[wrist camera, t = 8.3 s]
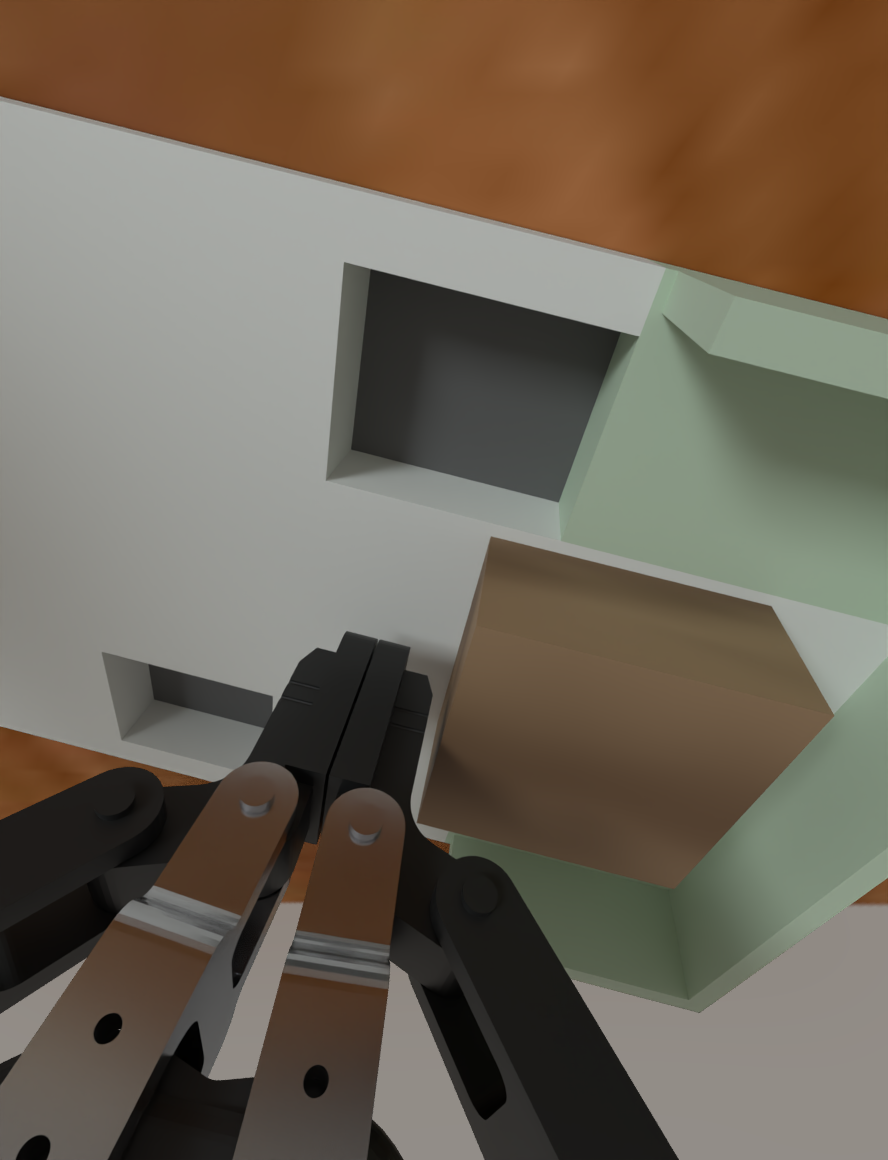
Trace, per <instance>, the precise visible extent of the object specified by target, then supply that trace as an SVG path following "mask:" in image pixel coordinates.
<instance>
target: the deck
mask: <svg viewBox="0 0 888 1160" xmlns="http://www.w3.org/2000/svg"><path fill="white" fill-rule="evenodd" d="M491 536H492V537H496V538H500V539H504V540H508V541H512V542H516V543H520V544H524V545H528V546H532V547H536V548H540V549H544V550H548V551H552V552H556V553H560V554H564V555H568V556H572V557H577V558H581V559H585V560H589V561H593V562H597V563H601V564H605V565H609V566H613V567H617V568H621V569H625V570H629V571H633V572H637V573H641V574H645V575H649V576H653V577H657V578H661V579H665V580H669V581H673V582H677V583H681V584H685V585H689V586H693V587H697V588H701V589H705V590H709V591H713V592H717V593H721V594H725V595H729V596H733V597H737V598H741V599H745V600H749V601H753V602H757V603H761V604H765V605H769V606H772V608H773V610H774V611H775V613H776V615H777V617H778V618H779V620H780V622H781V624H782V625H783V627H784V629H785V631H786V632H787V634H788V636H789V637H790V639H791V641H792V643H793V644H794V646H795V648H796V650H797V651H798V653H799V655H800V657H801V658H802V660H803V662H804V663H805V665H806V667H807V669H808V670H809V672H810V674H811V676H812V677H813V679H814V681H815V683H816V684H817V686H818V688H819V690H820V691H821V693H822V695H823V696H824V698H825V700H826V702H827V703H828V705H829V707H830V709H831V710H832V712H833V714H834V717H833V718H832V719H831V720H830V721H829V722H828V723H827V725H826V726H825V727H824V728H823V729H822V730H821V731H820V732H819V733H818V734H817V735H816V736H815V738H814V739H813V740H812V741H811V742H810V743H809V744H808V745H807V746H806V747H805V748H804V749H803V750H802V752H801V753H800V754H799V755H798V756H797V757H796V758H795V759H794V760H793V761H792V762H791V763H790V765H789V766H788V767H787V768H786V769H785V770H784V771H783V772H782V773H781V774H780V775H779V776H778V778H777V779H776V780H775V781H774V782H773V783H772V784H771V785H770V786H769V787H768V788H767V789H766V790H765V792H764V793H763V794H762V795H761V796H760V797H759V798H758V799H757V800H756V801H755V802H754V803H753V805H752V806H751V807H750V808H749V809H748V810H747V811H746V812H745V813H744V814H743V815H742V816H741V817H740V819H739V820H738V821H737V822H736V823H735V824H734V825H733V826H732V827H731V828H730V829H729V830H728V832H727V833H726V834H725V835H724V836H723V837H722V838H721V839H720V840H719V841H718V842H717V843H716V845H715V846H714V847H713V848H712V849H711V850H710V851H709V852H708V853H707V854H706V855H705V856H704V857H703V859H702V860H701V861H700V862H699V863H698V864H697V865H696V866H695V867H694V868H693V869H692V870H691V872H690V873H689V874H688V875H687V876H686V877H685V878H684V879H683V880H682V881H681V882H680V883H679V884H678V886H677V887H676V888H675V889H671V888H667V887H664V886H660V885H656V884H652V883H648V882H644V881H640V880H636V879H632V878H629V877H625V876H621V875H617V874H613V873H609V872H605V871H601V870H598V869H594V868H590V867H586V866H582V865H578V864H574V863H570V862H566V861H563V860H559V859H555V858H551V857H547V856H543V855H539V854H535V853H531V852H528V851H524V850H520V849H516V848H512V847H508V846H504V845H500V844H496V843H493V842H489V841H485V840H481V839H477V838H473V837H469V836H465V835H462V834H458V833H454V832H450V831H446V830H442V829H438V828H434V827H430V826H427V825H423V824H419V823H417V818H418V814H419V809H420V804H421V799H422V794H423V790H424V785H425V780H426V775H427V770H428V766H429V761H430V756H431V751H432V747H433V742H434V737H435V732H436V727H437V723H438V719H439V715H440V712H441V708H442V705H443V701H444V698H445V694H446V691H447V687H448V684H449V680H450V677H451V673H452V670H453V666H454V663H455V659H456V656H457V652H458V649H459V645H460V642H461V638H462V635H463V632H464V628H465V625H466V621H467V618H468V614H469V611H470V607H471V604H472V600H473V597H474V593H475V590H476V586H477V583H478V579H479V576H480V572H481V569H482V565H483V562H484V558H485V555H486V551H487V548H488V544H489V541H490V537H491ZM346 631H349V632H353V633H357V634H361V635H365V636H369V637H373V638H377V639H378V642H379V640H380V639H381V640H385V641H389V642H393V643H397V644H401V645H405V646H409V647H411V649H410V653H409V658H408V662H407V666H406V670H408V671H412V672H415V673H419V674H423V675H427V676H428V679H429V683H430V686H431V690H432V694H433V697H432V702H431V706H430V711H429V716H428V720H427V725H426V730H425V734H424V739H423V744H422V748H421V753H420V758H419V762H418V767H417V772H416V776H415V781H414V785H413V790H412V795H411V812H412V816H413V819H414V822H415V824H416V825H417V827H418V829H419V830H420V832H421V833H422V834H423V835H424V836H425V837H426V838H429V839H433V840H437V841H441V842H445V843H448V844H450V849H449V855H451V856H452V857H454V858H455V859H458V858H461V857H465V856H479V857H483V858H486V859H489V860H491V861H492V862H494V863H496V864H497V865H498V866H500V867H501V868H502V869H503V870H504V871H505V872H506V873H507V874H508V876H509V877H510V879H511V880H512V882H513V883H514V885H515V887H516V888H517V890H518V892H519V893H520V895H521V897H522V898H523V900H524V902H525V903H526V905H527V907H528V909H529V910H530V912H531V914H532V915H533V917H534V919H535V920H536V922H537V924H538V925H539V927H540V929H541V930H542V932H543V934H544V935H545V937H546V939H547V940H548V942H549V944H550V945H551V947H552V949H553V950H554V952H555V954H556V955H557V957H558V959H559V960H560V962H561V964H562V965H563V967H564V969H565V970H566V972H567V974H568V975H569V977H570V979H573V980H577V981H580V982H584V983H588V984H592V985H596V986H600V987H604V988H607V989H611V990H615V991H618V992H622V993H626V994H630V995H634V996H638V997H641V998H645V999H649V1000H653V1001H656V1002H660V1003H664V1004H668V1005H671V1006H675V1007H679V1008H683V1009H687V1010H690V1011H694V1012H698V1013H700V1012H701V1011H703V1010H704V1009H706V1008H707V1007H708V1006H710V1005H711V1004H713V1003H714V1002H716V1001H717V1000H718V999H719V998H721V997H722V996H724V995H725V994H727V993H728V992H729V991H731V990H732V989H734V988H735V987H736V986H738V985H739V984H741V983H742V982H743V981H745V980H746V979H748V978H749V977H750V976H752V975H753V974H754V973H756V972H757V971H759V970H760V969H761V968H763V967H764V966H766V965H767V964H768V963H770V962H771V961H772V960H774V959H775V958H777V957H778V956H779V955H781V954H782V953H784V952H785V951H786V950H788V949H789V948H791V947H792V946H793V945H795V944H796V943H797V942H799V941H800V940H802V939H803V938H805V937H806V936H807V935H809V934H810V933H811V932H813V931H814V930H815V929H817V928H818V927H820V926H821V925H823V924H824V923H825V922H827V921H828V920H829V919H831V918H832V917H834V916H835V915H836V914H838V913H839V912H841V911H842V910H844V909H845V908H846V907H848V906H849V905H850V904H852V903H853V902H855V901H856V900H857V899H859V898H860V897H862V896H863V895H864V894H866V893H867V892H869V891H870V890H871V889H873V888H874V887H875V886H877V885H878V884H880V883H881V882H882V881H884V880H885V879H887V878H888V319H885V318H881V317H877V316H873V315H869V314H865V313H861V312H857V311H853V310H849V309H845V308H841V307H837V306H833V305H829V304H825V303H821V302H817V301H813V300H809V299H805V298H801V297H797V296H793V295H789V294H785V293H781V292H777V291H773V290H769V289H765V288H761V287H757V286H753V285H749V284H745V283H741V282H737V281H733V280H729V279H725V278H721V277H717V276H713V275H709V274H705V273H701V272H697V271H693V270H689V269H685V268H681V267H677V266H673V265H669V264H665V263H661V262H657V261H653V260H649V259H646V258H642V257H638V256H634V255H630V254H626V253H622V252H618V251H614V250H610V249H606V248H602V247H598V246H594V245H590V244H586V243H582V242H578V241H574V240H570V239H566V238H562V237H558V236H554V235H550V234H546V233H542V232H538V231H534V230H530V229H526V228H522V227H518V226H514V225H510V224H506V223H502V222H498V221H494V220H490V219H486V218H482V217H478V216H474V215H470V214H466V213H462V212H458V211H454V210H450V209H446V208H442V207H438V206H434V205H430V204H426V203H422V202H418V201H414V200H410V199H406V198H402V197H398V196H395V195H391V194H387V193H383V192H379V191H375V190H371V189H367V188H363V187H359V186H355V185H351V184H347V183H343V182H339V181H335V180H331V179H327V178H323V177H319V176H315V175H311V174H307V173H303V172H299V171H295V170H291V169H287V168H283V167H279V166H275V165H271V164H267V163H263V162H259V161H255V160H251V159H247V158H243V157H239V156H235V155H231V154H227V153H223V152H219V151H215V150H211V149H207V148H203V147H199V146H195V145H191V144H187V143H183V142H179V141H175V140H171V139H167V138H163V137H159V136H155V135H151V134H147V133H144V132H140V131H136V130H132V129H128V128H124V127H120V126H116V125H112V124H108V123H104V122H100V121H96V120H92V119H88V118H84V117H80V116H76V115H72V114H68V113H64V112H60V111H56V110H52V109H48V108H44V107H40V106H36V105H32V104H28V103H24V102H20V101H16V100H12V99H8V98H4V97H0V726H1V727H5V728H9V729H13V730H17V731H20V732H24V733H28V734H32V735H36V736H40V737H43V738H47V739H51V740H55V741H59V742H63V743H66V744H70V745H74V746H78V747H82V748H85V749H89V750H93V751H97V752H101V753H105V754H108V755H112V756H116V757H120V758H124V759H127V760H131V761H135V762H139V763H143V764H147V765H150V766H154V767H158V768H162V769H166V770H169V771H173V772H177V773H181V774H185V775H189V776H192V777H196V778H200V779H204V780H208V781H212V782H215V781H218V780H221V779H223V778H225V777H226V776H227V775H228V774H229V773H230V772H232V771H233V770H235V769H236V768H238V767H240V766H242V765H243V764H244V763H245V761H246V760H247V759H248V757H249V756H250V754H251V752H252V750H253V748H254V746H255V744H256V743H257V741H258V739H259V737H260V735H261V733H262V731H263V729H264V727H265V726H266V724H267V722H268V720H269V718H270V716H271V714H272V712H273V710H274V708H275V707H276V705H277V703H278V701H279V699H281V696H282V693H283V691H284V689H285V688H286V686H287V684H288V683H289V681H290V678H291V676H292V674H293V672H294V671H295V669H296V667H297V665H298V663H299V661H300V660H302V659H303V658H304V657H305V656H307V655H308V654H309V653H311V652H312V651H313V650H314V649H316V648H321V649H325V650H329V651H333V652H336V651H337V649H338V647H339V644H340V642H341V640H342V638H343V636H344V634H345V632H346Z"/></svg>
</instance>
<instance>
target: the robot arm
mask: <svg viewBox="0 0 888 1160" xmlns="http://www.w3.org/2000/svg"><path fill="white" fill-rule="evenodd" d="M410 649H411V647H409V646H405V645H401V644H397V643H393V642H389V641H385V640H381V639H380V640H379V642H378V639H377V638H373V637H369V636H365V635H361V634H357V633H353V632H349V631H346V632H345V634H344V636H343V638H342V640H341V642H340V644H339V647H338V649H337V651H336V652H333V651H329V650H325V649H321V648H316V649H314V650H313V651H312V652H311V653H309V654H308V655H307V656H305V657H304V658H303V659H302V660H300V661H299V663H298V665H297V667H296V669H295V671H294V672H293V674H292V676H291V678H290V681H289V683H288V684H287V686H286V688H285V689H284V691H283V693H282V696H281V699H279V701H278V703H277V705H276V707H275V708H274V710H273V712H272V714H271V716H270V718H269V720H268V722H267V724H266V726H265V727H264V729H263V731H262V733H261V735H260V737H259V739H258V741H257V743H256V744H255V746H254V748H253V750H252V752H251V754H250V756H249V757H248V759H247V760H246V761H245V763H244V764H243V765H242V766H240V767H238V768H236V769H235V770H233V771H232V772H230V773H229V774H228V775H227V776H226V777H225V778H223V779H221V780H218V781H215V782H212V783H208V784H202V785H189V786H172V787H162V784H161V782H160V781H159V779H158V778H157V777H156V776H155V775H154V774H153V773H151V772H149V771H147V770H144V769H141V768H135V767H123V768H116V769H113V770H109V771H106V772H104V773H101V774H99V775H97V776H95V777H92V778H90V779H88V780H86V781H84V782H82V783H79V784H77V785H75V786H73V787H71V788H69V789H66V790H64V791H62V792H60V793H58V794H56V795H53V796H51V797H49V798H47V799H45V800H43V801H40V802H38V803H36V804H34V805H32V806H30V807H27V808H25V809H23V810H21V811H19V812H17V813H14V814H12V815H10V816H8V817H6V818H4V819H1V820H0V1014H1V1013H2V1012H4V1011H5V1010H7V1009H8V1008H10V1007H11V1006H13V1005H15V1004H16V1003H18V1002H19V1001H21V1000H22V999H24V998H25V997H27V996H28V995H30V994H31V993H33V992H34V991H36V990H38V989H39V988H40V987H42V986H44V985H45V984H47V983H48V982H50V981H52V980H53V979H55V978H56V977H58V976H59V975H61V974H62V973H64V972H65V971H67V970H69V969H70V968H72V967H73V966H75V965H76V964H78V963H79V962H81V961H82V960H84V959H85V958H87V959H86V960H85V962H84V963H83V965H82V966H81V968H80V969H79V970H78V972H77V974H76V975H75V976H74V978H73V979H72V981H71V982H70V984H69V985H68V987H67V988H66V990H65V991H64V993H63V994H62V996H61V997H60V998H59V1000H58V1001H57V1003H56V1004H55V1006H54V1007H53V1009H52V1010H51V1012H50V1013H49V1015H48V1016H47V1018H46V1019H45V1021H44V1022H43V1024H42V1025H41V1026H40V1028H39V1030H38V1031H37V1032H36V1034H35V1035H34V1037H33V1038H32V1040H31V1041H30V1043H29V1044H28V1046H27V1047H26V1049H25V1050H24V1052H23V1053H22V1054H20V1055H18V1056H16V1057H13V1058H11V1059H9V1060H7V1061H5V1062H3V1063H1V1064H0V1160H403V1158H402V1156H401V1155H400V1153H399V1151H398V1150H397V1148H396V1146H395V1145H394V1144H393V1143H392V1141H391V1140H390V1138H389V1137H388V1136H387V1135H386V1133H385V1132H384V1131H383V1129H381V1127H380V1126H378V1125H377V1124H376V1123H375V1122H374V1121H373V1120H372V1114H373V1107H374V1098H375V1091H376V1083H377V1076H378V1075H377V1074H378V1067H379V1060H380V1051H381V1044H382V1036H383V1028H384V1020H385V1012H386V1004H387V997H388V988H389V976H390V962H389V960H390V961H391V962H393V963H394V964H396V965H397V966H398V967H399V968H401V969H402V970H403V971H405V972H406V973H408V975H409V979H410V982H411V985H412V987H413V989H414V992H415V994H416V997H417V999H418V1002H419V1004H420V1006H421V1009H422V1011H423V1013H424V1016H425V1018H426V1021H427V1023H428V1025H429V1028H430V1030H431V1033H432V1035H433V1037H434V1040H435V1042H436V1045H437V1047H438V1049H439V1052H440V1054H441V1056H442V1059H443V1061H444V1064H445V1066H446V1068H447V1071H448V1073H449V1076H450V1078H451V1080H452V1083H453V1085H454V1088H455V1090H456V1092H457V1095H458V1097H459V1100H460V1102H461V1104H462V1107H463V1109H464V1111H465V1114H466V1116H467V1119H468V1121H469V1123H470V1125H471V1128H472V1131H473V1133H474V1135H475V1138H476V1140H477V1143H478V1145H479V1147H480V1150H481V1152H482V1154H483V1157H484V1159H485V1160H679V1159H678V1158H677V1156H676V1154H675V1152H674V1151H673V1149H672V1148H671V1146H670V1144H669V1143H668V1141H667V1139H666V1138H665V1136H664V1134H663V1132H662V1131H661V1129H660V1128H659V1126H658V1124H657V1122H656V1121H655V1119H654V1118H653V1116H652V1114H651V1112H650V1111H649V1109H648V1107H647V1106H646V1104H645V1102H644V1101H643V1099H642V1097H641V1096H640V1094H639V1092H638V1091H637V1089H636V1087H635V1086H634V1084H633V1082H632V1081H631V1079H630V1077H629V1076H628V1074H627V1072H626V1071H625V1069H624V1067H623V1066H622V1064H621V1062H620V1061H619V1059H618V1057H617V1056H616V1054H615V1052H614V1051H613V1049H612V1047H611V1046H610V1044H609V1042H608V1041H607V1039H606V1037H605V1036H604V1034H603V1032H602V1031H601V1029H600V1027H599V1026H598V1024H597V1022H596V1020H595V1019H594V1017H593V1015H592V1014H591V1012H590V1010H589V1009H588V1007H587V1005H586V1004H585V1002H584V1001H583V999H582V997H581V995H580V994H579V992H578V990H577V989H576V987H575V985H574V984H573V982H572V980H571V979H570V977H569V975H568V974H567V972H566V970H565V969H564V967H563V965H562V964H561V962H560V960H559V959H558V957H557V955H556V954H555V952H554V950H553V949H552V947H551V945H550V944H549V942H548V940H547V939H546V937H545V935H544V934H543V932H542V930H541V929H540V927H539V925H538V924H537V922H536V920H535V919H534V917H533V915H532V914H531V912H530V910H529V909H528V907H527V905H526V903H525V902H524V900H523V898H522V897H521V895H520V893H519V892H518V890H517V888H516V887H515V885H514V883H513V882H512V880H511V879H510V877H509V876H508V874H507V873H506V872H505V871H504V870H503V869H502V868H501V867H500V866H498V865H497V864H496V863H494V862H492V861H491V860H489V859H486V858H483V857H479V856H465V857H461V858H458V859H455V858H454V857H452V856H451V855H449V854H448V853H446V852H444V851H443V850H441V849H440V848H438V847H437V846H435V845H434V844H433V843H431V842H430V841H429V840H427V838H426V837H425V836H424V835H423V834H422V833H421V832H420V830H419V829H418V827H417V825H416V824H415V822H414V819H413V816H412V812H411V795H412V790H413V785H414V781H415V776H416V772H417V767H418V762H419V758H420V753H421V748H422V744H423V739H424V734H425V730H426V725H427V720H428V716H429V711H430V706H431V702H432V697H433V694H432V690H431V686H430V683H429V679H428V676H427V675H423V674H419V673H415V672H412V671H408V670H406V666H407V662H408V658H409V653H410ZM321 830H322V831H321ZM320 833H321V838H320V842H319V846H318V850H317V853H316V857H315V861H314V865H313V869H312V872H311V876H310V880H309V884H308V888H307V891H306V895H305V899H304V903H303V907H302V911H301V914H300V918H299V922H298V926H297V929H296V933H295V937H294V940H293V943H292V945H291V947H290V949H289V952H288V955H287V959H286V962H285V965H284V969H283V972H282V976H281V980H280V984H279V988H278V991H277V995H276V999H275V1002H274V1006H273V1010H272V1013H271V1017H270V1021H269V1025H268V1029H267V1032H266V1036H265V1040H264V1044H263V1048H262V1051H261V1055H260V1059H259V1062H258V1066H257V1070H256V1074H255V1077H254V1078H253V1077H252V1078H243V1079H232V1080H221V1081H220V1080H217V1081H216V1080H211V1079H209V1078H208V1076H209V1074H210V1072H211V1069H212V1067H213V1065H214V1062H215V1060H216V1058H217V1056H218V1053H219V1051H220V1049H221V1047H222V1044H223V1042H224V1039H225V1037H226V1034H227V1032H228V1029H229V1026H230V1023H231V1020H232V1017H233V1014H234V1010H235V1007H236V1003H237V1000H238V997H239V995H240V992H241V990H242V987H243V985H244V982H245V980H246V978H247V976H248V974H249V971H250V969H251V967H252V965H253V963H254V960H255V958H256V956H257V954H258V951H259V949H260V947H261V945H262V942H263V940H264V938H265V936H266V934H267V931H268V929H269V927H270V925H271V923H272V920H273V918H274V916H275V914H276V911H277V909H278V907H279V905H280V902H281V900H282V898H283V896H284V894H285V891H286V889H287V887H288V885H289V882H290V879H291V875H292V873H293V871H294V868H295V865H296V863H297V860H298V857H299V855H300V852H301V849H302V846H303V844H304V842H308V843H312V844H317V842H318V839H319V836H320ZM118 1029H121V1030H118Z"/></svg>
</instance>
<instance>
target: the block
mask: <svg viewBox="0 0 888 1160" xmlns="http://www.w3.org/2000/svg"><path fill="white" fill-rule="evenodd" d="M833 717H834V714H833V712H832V710H831V709H830V707H829V705H828V703H827V702H826V700H825V698H824V696H823V695H822V693H821V691H820V690H819V688H818V686H817V684H816V683H815V681H814V679H813V677H812V676H811V674H810V672H809V670H808V669H807V667H806V665H805V663H804V662H803V660H802V658H801V657H800V655H799V653H798V651H797V650H796V648H795V646H794V644H793V643H792V641H791V639H790V637H789V636H788V634H787V632H786V631H785V629H784V627H783V625H782V624H781V622H780V620H779V618H778V617H777V615H776V613H775V611H774V610H773V608H772V606H769V605H765V604H761V603H757V602H753V601H749V600H745V599H741V598H737V597H733V596H729V595H725V594H721V593H717V592H713V591H709V590H705V589H701V588H697V587H693V586H689V585H685V584H681V583H677V582H673V581H669V580H665V579H661V578H657V577H653V576H649V575H645V574H641V573H637V572H633V571H629V570H625V569H621V568H617V567H613V566H609V565H605V564H601V563H597V562H593V561H589V560H585V559H581V558H577V557H572V556H568V555H564V554H560V553H556V552H552V551H548V550H544V549H540V548H536V547H532V546H528V545H524V544H520V543H516V542H512V541H508V540H504V539H500V538H496V537H492V536H491V537H490V541H489V544H488V548H487V551H486V555H485V558H484V562H483V565H482V569H481V572H480V576H479V579H478V583H477V586H476V590H475V593H474V597H473V600H472V604H471V607H470V611H469V614H468V618H467V621H466V625H465V628H464V632H463V635H462V638H461V642H460V645H459V649H458V652H457V656H456V659H455V663H454V666H453V670H452V673H451V677H450V680H449V684H448V687H447V691H446V694H445V698H444V701H443V705H442V708H441V712H440V715H439V719H438V723H437V727H436V732H435V737H434V742H433V747H432V751H431V756H430V761H429V766H428V770H427V775H426V780H425V785H424V790H423V794H422V799H421V804H420V809H419V814H418V818H417V823H419V824H423V825H427V826H430V827H434V828H438V829H442V830H446V831H450V832H454V833H458V834H462V835H465V836H469V837H473V838H477V839H481V840H485V841H489V842H493V843H496V844H500V845H504V846H508V847H512V848H516V849H520V850H524V851H528V852H531V853H535V854H539V855H543V856H547V857H551V858H555V859H559V860H563V861H566V862H570V863H574V864H578V865H582V866H586V867H590V868H594V869H598V870H601V871H605V872H609V873H613V874H617V875H621V876H625V877H629V878H632V879H636V880H640V881H644V882H648V883H652V884H656V885H660V886H664V887H667V888H671V889H675V888H676V887H677V886H678V884H679V883H680V882H681V881H682V880H683V879H684V878H685V877H686V876H687V875H688V874H689V873H690V872H691V870H692V869H693V868H694V867H695V866H696V865H697V864H698V863H699V862H700V861H701V860H702V859H703V857H704V856H705V855H706V854H707V853H708V852H709V851H710V850H711V849H712V848H713V847H714V846H715V845H716V843H717V842H718V841H719V840H720V839H721V838H722V837H723V836H724V835H725V834H726V833H727V832H728V830H729V829H730V828H731V827H732V826H733V825H734V824H735V823H736V822H737V821H738V820H739V819H740V817H741V816H742V815H743V814H744V813H745V812H746V811H747V810H748V809H749V808H750V807H751V806H752V805H753V803H754V802H755V801H756V800H757V799H758V798H759V797H760V796H761V795H762V794H763V793H764V792H765V790H766V789H767V788H768V787H769V786H770V785H771V784H772V783H773V782H774V781H775V780H776V779H777V778H778V776H779V775H780V774H781V773H782V772H783V771H784V770H785V769H786V768H787V767H788V766H789V765H790V763H791V762H792V761H793V760H794V759H795V758H796V757H797V756H798V755H799V754H800V753H801V752H802V750H803V749H804V748H805V747H806V746H807V745H808V744H809V743H810V742H811V741H812V740H813V739H814V738H815V736H816V735H817V734H818V733H819V732H820V731H821V730H822V729H823V728H824V727H825V726H826V725H827V723H828V722H829V721H830V720H831V719H832V718H833Z"/></svg>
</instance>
